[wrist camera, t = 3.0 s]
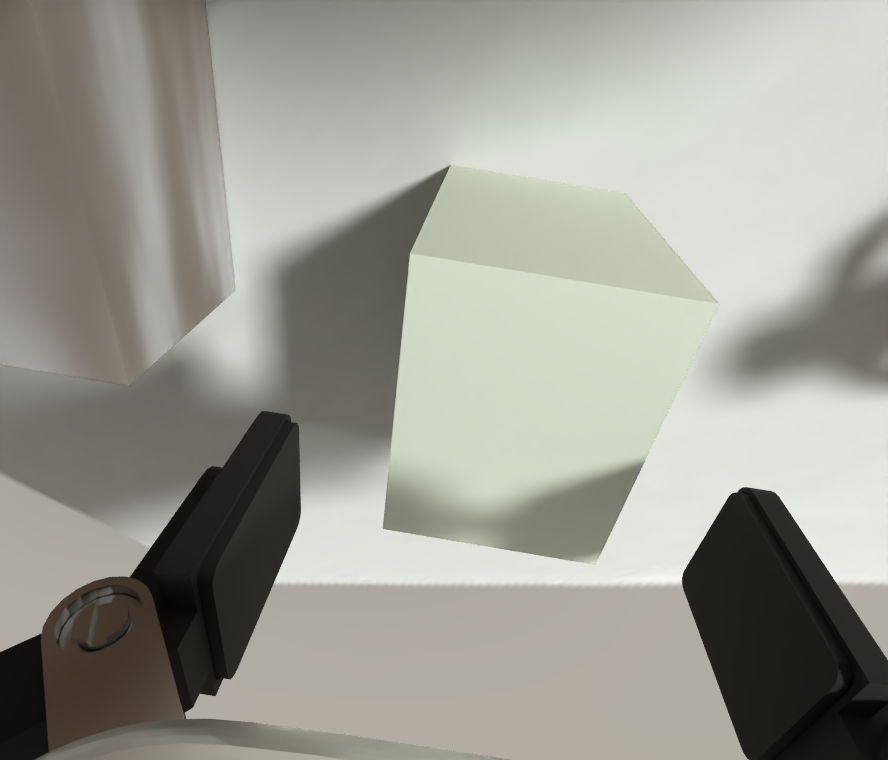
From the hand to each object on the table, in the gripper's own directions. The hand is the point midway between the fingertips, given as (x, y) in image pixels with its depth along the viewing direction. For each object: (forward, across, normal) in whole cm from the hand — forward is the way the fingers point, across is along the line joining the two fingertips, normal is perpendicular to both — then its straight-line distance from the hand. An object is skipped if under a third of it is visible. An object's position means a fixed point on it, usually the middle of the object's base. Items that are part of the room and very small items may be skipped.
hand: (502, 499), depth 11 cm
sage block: (+10, 0, -1) cm, 10 cm away
